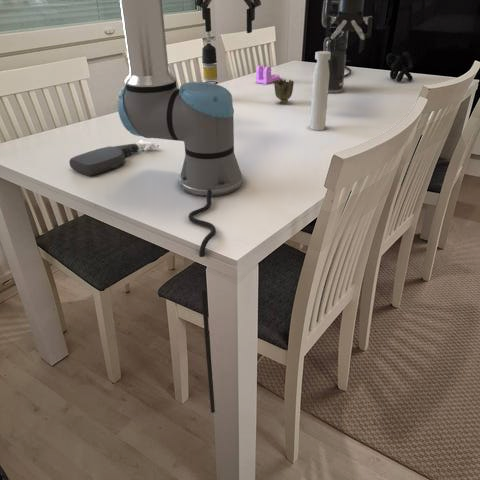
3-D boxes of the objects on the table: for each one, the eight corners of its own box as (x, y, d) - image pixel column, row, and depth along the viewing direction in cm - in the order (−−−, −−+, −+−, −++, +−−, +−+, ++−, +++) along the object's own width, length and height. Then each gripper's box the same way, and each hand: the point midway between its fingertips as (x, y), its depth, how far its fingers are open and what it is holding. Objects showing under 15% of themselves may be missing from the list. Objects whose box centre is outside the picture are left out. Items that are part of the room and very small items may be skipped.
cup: (270, 104, 170) (270, 82, 166) (278, 99, 176) (278, 78, 171) (288, 106, 167) (289, 84, 163) (295, 101, 173) (296, 80, 168)
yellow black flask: (220, 99, 177) (217, 15, 161) (206, 100, 176) (202, 16, 160) (215, 96, 182) (212, 14, 166) (202, 97, 180) (197, 14, 164)
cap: (313, 57, 136) (314, 51, 135) (328, 57, 136) (328, 50, 135) (316, 60, 132) (317, 54, 131) (331, 60, 132) (332, 53, 132)
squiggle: (400, 92, 202) (376, 71, 205) (417, 76, 202) (392, 56, 205) (405, 81, 191) (380, 59, 194) (423, 64, 191) (397, 42, 194)
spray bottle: (67, 168, 120) (139, 144, 136) (91, 178, 114) (163, 151, 130) (65, 157, 118) (137, 134, 134) (89, 167, 112) (162, 142, 128)
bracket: (266, 84, 198) (266, 67, 194) (256, 82, 201) (256, 66, 197) (281, 78, 207) (282, 62, 203) (271, 77, 210) (272, 61, 206)
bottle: (308, 125, 148) (313, 52, 136) (323, 125, 148) (329, 52, 136) (311, 130, 143) (316, 55, 131) (326, 130, 144) (333, 55, 132)
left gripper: (272, -51, 127) (270, 31, 138) (192, -49, 134) (197, 29, 145) (264, -51, 121) (263, 34, 132) (181, -49, 128) (187, 32, 139)
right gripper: (376, -6, 138) (369, 50, 147) (329, -6, 142) (325, 49, 150) (375, -4, 132) (368, 54, 141) (327, -4, 135) (323, 53, 144)
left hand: (228, 32), depth 139 cm, fingers open, 13 cm apart
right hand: (346, 51), depth 145 cm, fingers open, 8 cm apart
